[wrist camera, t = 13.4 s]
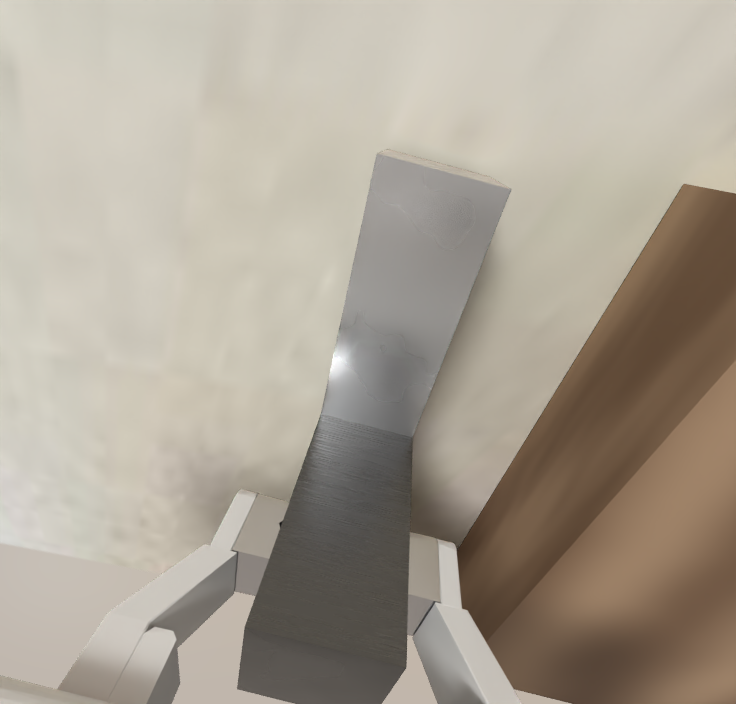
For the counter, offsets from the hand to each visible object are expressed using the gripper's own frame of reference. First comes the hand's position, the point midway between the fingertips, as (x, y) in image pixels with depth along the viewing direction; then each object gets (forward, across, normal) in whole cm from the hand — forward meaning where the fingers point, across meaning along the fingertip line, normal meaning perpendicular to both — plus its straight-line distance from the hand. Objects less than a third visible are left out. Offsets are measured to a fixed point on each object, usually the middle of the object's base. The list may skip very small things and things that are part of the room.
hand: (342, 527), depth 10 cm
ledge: (+6, -12, 0) cm, 14 cm away
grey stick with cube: (+6, 0, 0) cm, 6 cm away
